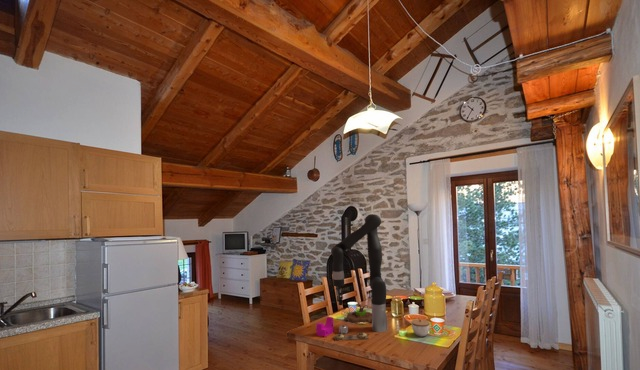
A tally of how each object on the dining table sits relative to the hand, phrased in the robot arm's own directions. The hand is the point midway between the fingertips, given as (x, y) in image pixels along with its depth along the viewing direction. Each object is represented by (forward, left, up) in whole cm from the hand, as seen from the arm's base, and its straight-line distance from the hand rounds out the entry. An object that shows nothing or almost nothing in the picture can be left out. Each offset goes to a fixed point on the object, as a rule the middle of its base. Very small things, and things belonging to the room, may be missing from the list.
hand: (339, 303), depth 228 cm
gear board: (-5, +11, -19) cm, 22 cm away
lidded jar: (-49, +11, -19) cm, 54 cm away
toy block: (+9, -2, -19) cm, 21 cm away
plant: (-18, -26, -19) cm, 37 cm away
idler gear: (-2, 0, -19) cm, 19 cm away
